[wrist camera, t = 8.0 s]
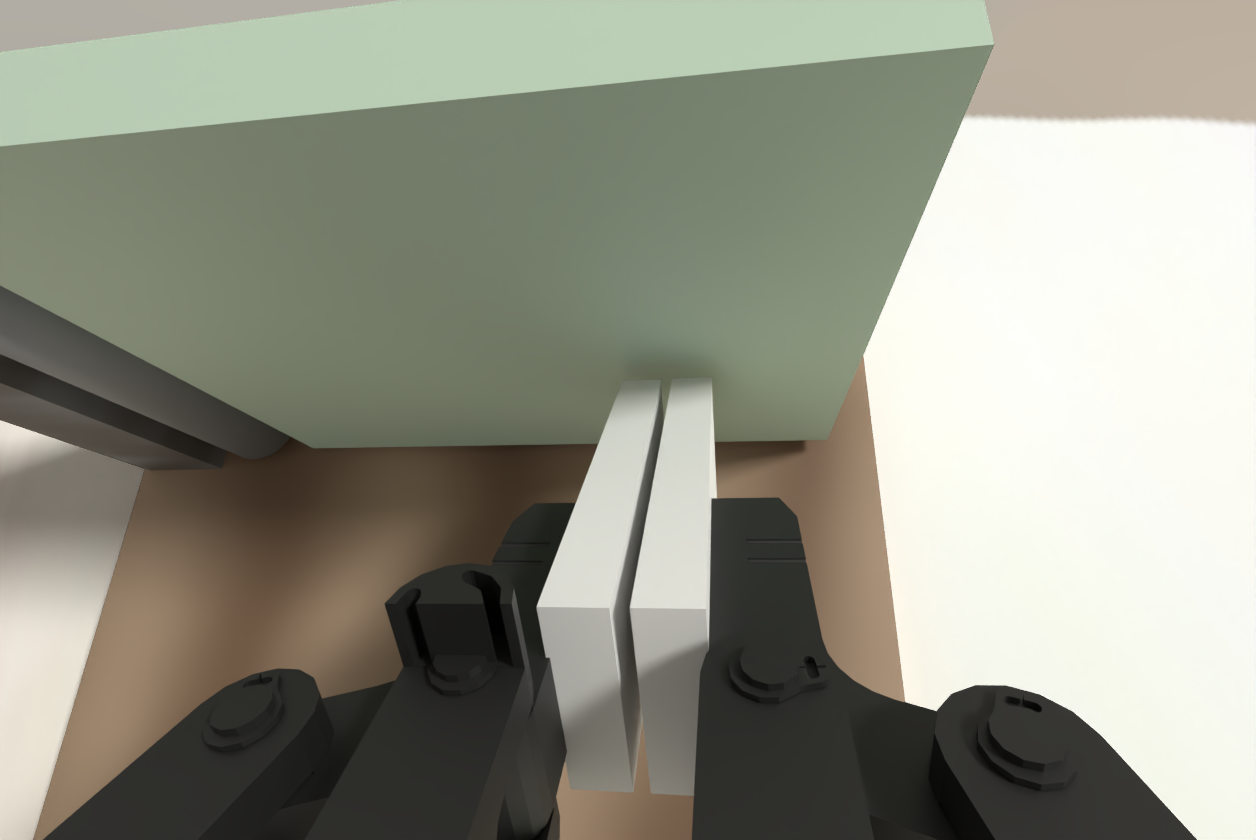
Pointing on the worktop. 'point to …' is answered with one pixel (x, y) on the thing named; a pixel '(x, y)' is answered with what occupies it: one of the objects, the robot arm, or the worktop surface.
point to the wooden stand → (387, 569)
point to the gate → (474, 212)
